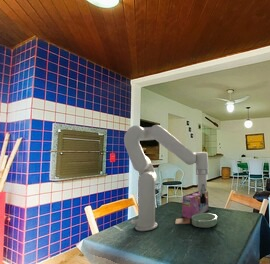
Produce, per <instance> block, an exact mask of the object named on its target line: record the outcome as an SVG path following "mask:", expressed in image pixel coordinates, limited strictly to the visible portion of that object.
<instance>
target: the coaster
mask: <svg viewBox="0 0 270 264" xmlns="http://www.w3.org/2000/svg"><path fill="white" fill-rule="evenodd" d="M190 224H191V219H190V218H185V217H182V218H175V221H174V225H190Z"/></svg>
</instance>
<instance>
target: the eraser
mask: <svg viewBox="0 0 270 264" xmlns="http://www.w3.org/2000/svg"><path fill="white" fill-rule="evenodd" d="M199 203H200V197H198V204H199ZM206 203H208V204H209V196H208V197H206Z"/></svg>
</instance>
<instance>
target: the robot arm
mask: <svg viewBox="0 0 270 264" xmlns="http://www.w3.org/2000/svg"><path fill="white" fill-rule="evenodd" d="M154 140H155V141H156V142H157V143H159V144H160V145H161V146H162V147H163V148H165V149H166V150H167V151H169V152H171V153H172V154H173V155H175V156H176V157H177V158H179V159H180V160H181V161H182V162H183V163H185V165H188V166H192V165H194V164H195V175H196V176H197V191H199V192H200V203H201V204H205V203H206V196H205V192H207V185H208V181H207V179H208V178H207V176H208V175H209V155H208V154H209V153H208V152H207V151H196V152H193V151H192V150H191V149H189V148H188V147H186V146H185V145H184V144H183V143H182V142H181V141H180V140H178V138H177V137H175V136H174V135H173V134H171V133H170V132H169V131H168V130H167V129H166V128H164V127H162V126H161V125H159V124H153V125H152V126H148V127H147V126H146V127H145V126H144V127H142V126H140V125H132V126H130V127H129V128H128V129H126V132H125V134H124V138H123V143H124V147H125V150H126V152H127V155H128V157H129V160H130V162H131V165H132V167H133V169H134V170H135V171H137V172H138V174H139V177H138V180H137V191H138V192H137V193H138V203H137V204H138V205H137V208H138V209H137V211H138V212H137V219H131V220H130V221H129V223H130V225H132V226H133V225H135V226H134V229H135V230H136V231H139V232H149V231H152V230H155V229H157V228H158V223H157V222H156V182H157V180H158V176H157V173H156V171H155V168H154V166H153V164H152V161H151V159H150V158H149V156H147V155H146V154H145V153H144V150H143V147H142V145H141V143H140V141H154Z"/></svg>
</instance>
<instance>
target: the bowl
mask: <svg viewBox="0 0 270 264" xmlns="http://www.w3.org/2000/svg"><path fill="white" fill-rule="evenodd" d="M217 224H218V216H217V215H216V214H214V213H211V212H203V213H198V214H194V215H193V216H192V219H191V225H192V226H193V227H196V228H197V227H198V228H201V229H202V228H204V229H205V228H207V229H208V228H211V227H214V226H216V225H217Z"/></svg>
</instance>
